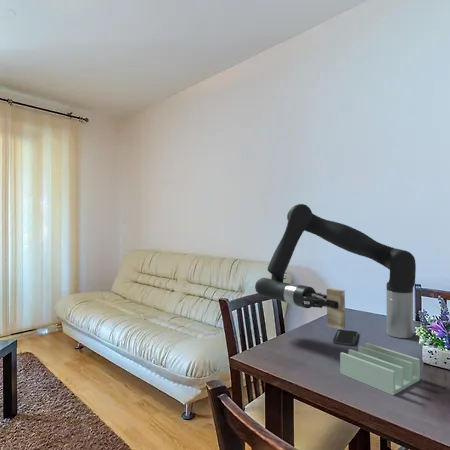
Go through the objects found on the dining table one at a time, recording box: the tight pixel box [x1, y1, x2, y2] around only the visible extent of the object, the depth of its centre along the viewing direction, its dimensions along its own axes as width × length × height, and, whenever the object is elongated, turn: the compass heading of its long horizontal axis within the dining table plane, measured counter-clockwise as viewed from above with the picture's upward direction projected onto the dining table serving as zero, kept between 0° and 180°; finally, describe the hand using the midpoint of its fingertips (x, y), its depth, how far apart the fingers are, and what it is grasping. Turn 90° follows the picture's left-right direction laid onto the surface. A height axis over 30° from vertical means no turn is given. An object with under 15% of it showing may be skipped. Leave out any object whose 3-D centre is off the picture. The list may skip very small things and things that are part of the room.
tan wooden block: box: [326, 287, 346, 330], centre depth 112 cm, size 2×5×12 cm, turn 36°
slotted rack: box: [339, 342, 421, 396], centre depth 100 cm, size 14×16×6 cm
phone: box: [332, 329, 359, 347], centre depth 132 cm, size 8×1×15 cm
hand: (340, 304), depth 110 cm, fingers closed on tan wooden block, 2 cm apart
